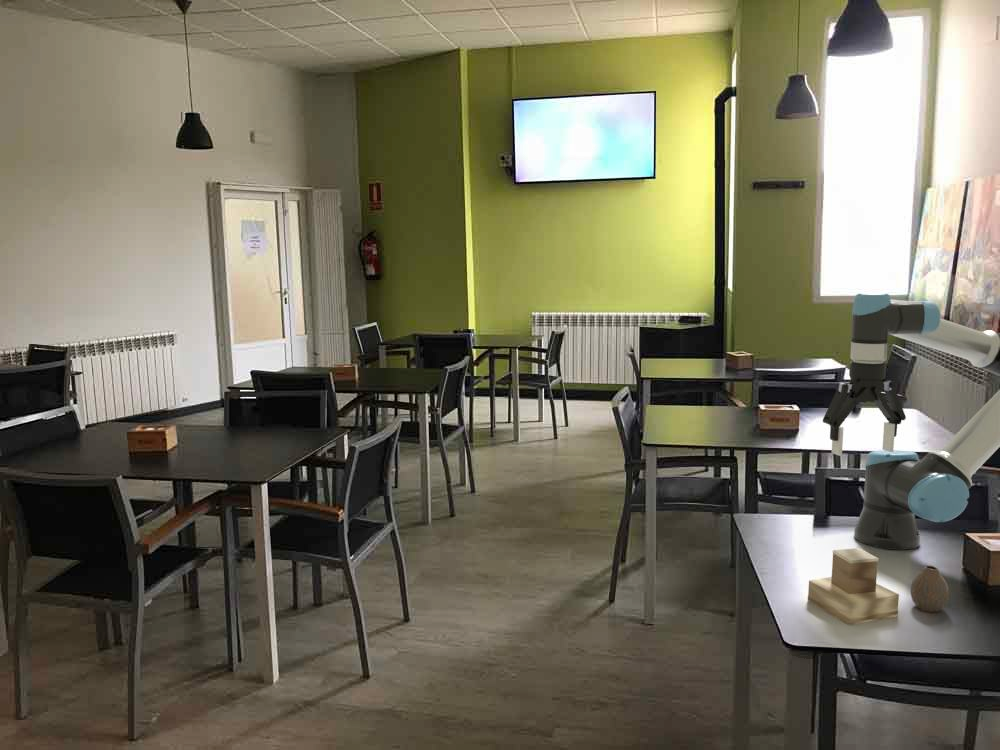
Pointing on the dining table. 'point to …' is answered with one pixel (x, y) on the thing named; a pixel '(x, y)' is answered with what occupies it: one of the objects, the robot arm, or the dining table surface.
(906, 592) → the dining table surface
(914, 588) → the vase
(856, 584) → the pale wooden block
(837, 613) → the beech base
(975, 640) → the dining table surface
